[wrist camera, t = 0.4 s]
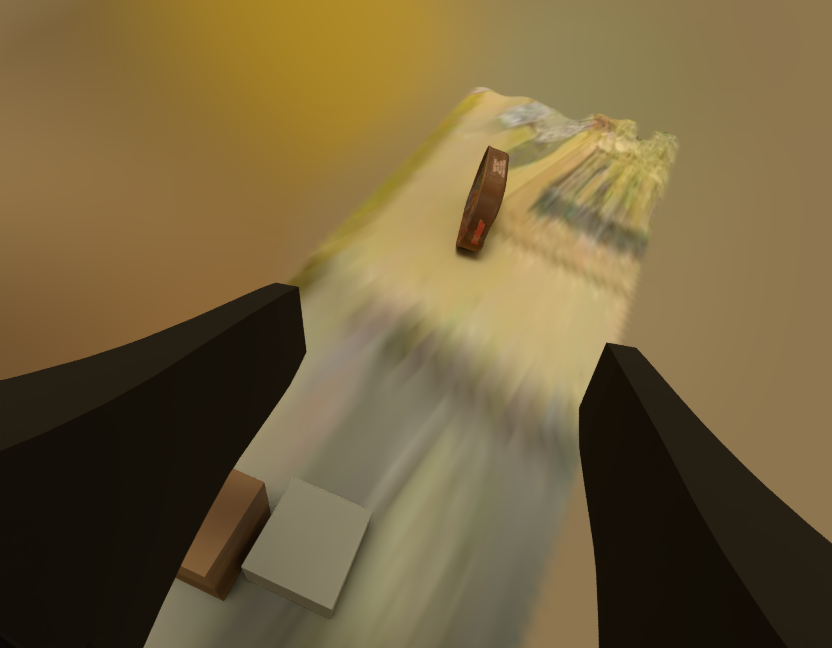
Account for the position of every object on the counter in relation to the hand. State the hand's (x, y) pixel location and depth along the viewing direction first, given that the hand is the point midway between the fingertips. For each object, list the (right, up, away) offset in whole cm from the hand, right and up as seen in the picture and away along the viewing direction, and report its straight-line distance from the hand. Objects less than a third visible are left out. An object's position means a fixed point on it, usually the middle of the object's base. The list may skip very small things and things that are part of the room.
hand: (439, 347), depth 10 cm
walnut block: (-12, -12, +14) cm, 22 cm away
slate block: (-7, -13, +15) cm, 20 cm away
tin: (+6, +12, +41) cm, 43 cm away
